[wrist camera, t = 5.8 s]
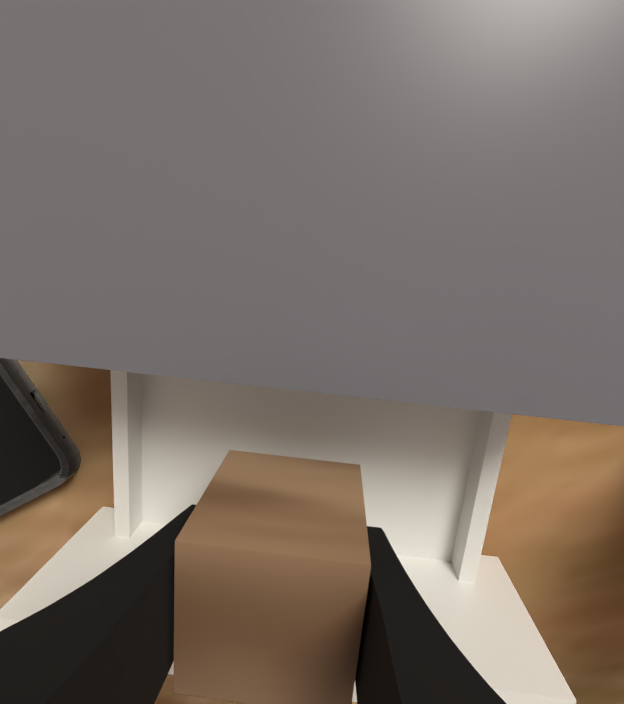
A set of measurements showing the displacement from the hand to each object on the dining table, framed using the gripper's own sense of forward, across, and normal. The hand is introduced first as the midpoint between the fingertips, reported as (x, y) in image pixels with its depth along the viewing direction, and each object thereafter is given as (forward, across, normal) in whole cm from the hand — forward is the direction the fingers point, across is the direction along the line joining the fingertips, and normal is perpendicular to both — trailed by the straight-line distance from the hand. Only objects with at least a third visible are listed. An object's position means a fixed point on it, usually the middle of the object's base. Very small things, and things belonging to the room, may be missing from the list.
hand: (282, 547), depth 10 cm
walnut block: (+2, 0, 0) cm, 2 cm away
